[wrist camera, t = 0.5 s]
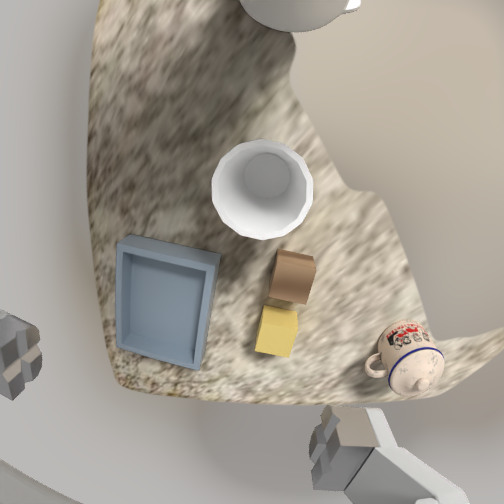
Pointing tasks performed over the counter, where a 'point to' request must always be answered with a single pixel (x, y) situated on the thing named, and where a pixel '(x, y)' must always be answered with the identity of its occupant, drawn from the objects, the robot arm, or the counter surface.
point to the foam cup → (262, 189)
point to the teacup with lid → (407, 359)
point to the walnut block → (292, 276)
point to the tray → (164, 299)
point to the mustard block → (276, 331)
